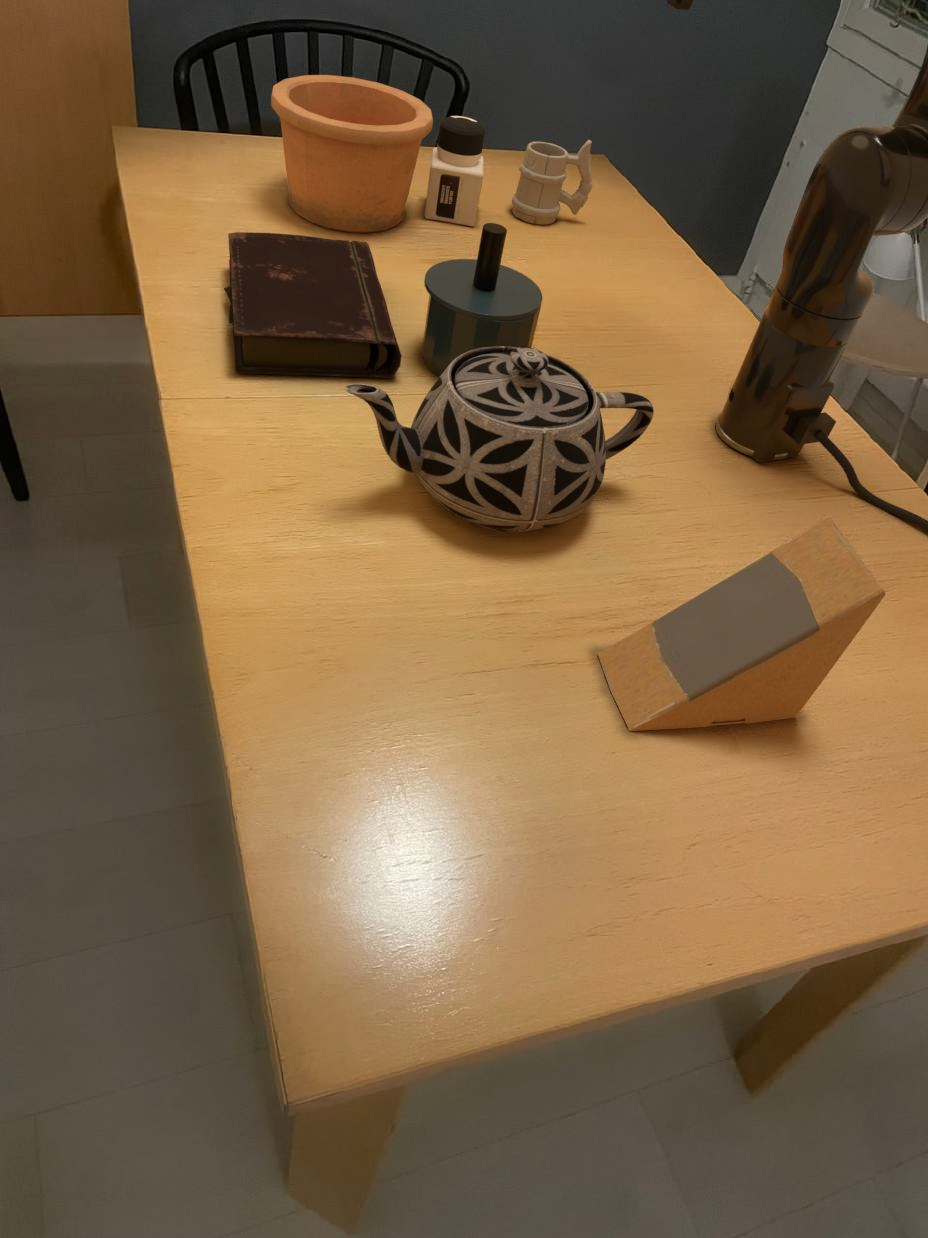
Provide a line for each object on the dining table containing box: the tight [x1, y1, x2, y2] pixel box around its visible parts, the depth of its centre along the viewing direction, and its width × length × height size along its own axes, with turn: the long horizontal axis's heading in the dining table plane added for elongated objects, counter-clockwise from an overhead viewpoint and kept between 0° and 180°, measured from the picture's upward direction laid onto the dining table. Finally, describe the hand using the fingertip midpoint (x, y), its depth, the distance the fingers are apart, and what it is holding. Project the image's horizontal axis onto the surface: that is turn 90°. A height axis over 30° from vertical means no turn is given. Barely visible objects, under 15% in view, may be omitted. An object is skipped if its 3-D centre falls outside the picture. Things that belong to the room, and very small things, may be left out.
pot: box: [421, 294, 542, 378], centre depth 101 cm, size 12×12×8 cm
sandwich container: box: [597, 515, 886, 732], centre depth 68 cm, size 9×15×15 cm, turn 102°
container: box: [424, 115, 486, 227], centre depth 130 cm, size 8×8×13 cm
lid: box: [423, 222, 544, 321], centre depth 96 cm, size 13×13×8 cm
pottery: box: [270, 74, 434, 234], centre depth 124 cm, size 22×22×14 cm
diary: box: [223, 231, 402, 379], centre depth 103 cm, size 19×25×5 cm
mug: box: [511, 139, 593, 226], centre depth 135 cm, size 8×12×12 cm, turn 92°
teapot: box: [343, 346, 655, 533], centre depth 82 cm, size 19×31×15 cm, turn 106°
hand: (677, 6), depth 93 cm, fingers closed
